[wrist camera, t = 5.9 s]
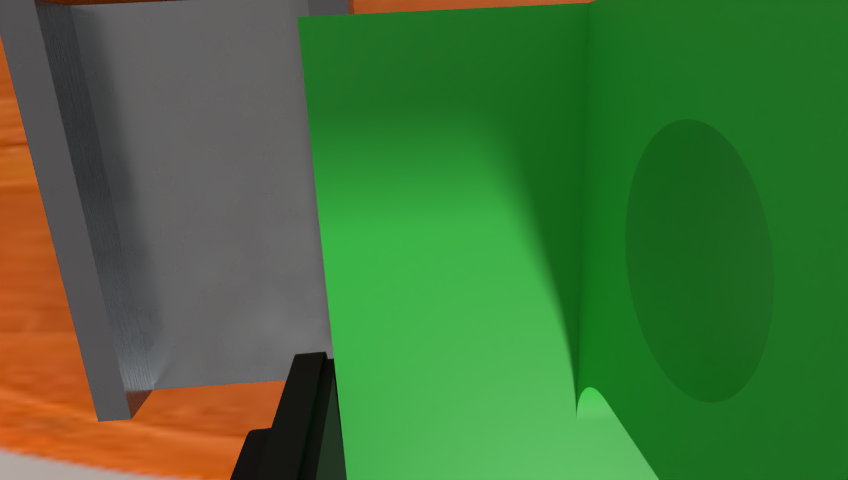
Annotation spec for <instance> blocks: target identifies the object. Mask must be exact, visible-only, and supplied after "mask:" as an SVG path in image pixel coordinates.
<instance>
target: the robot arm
mask: <svg viewBox="0 0 848 480" xmlns="http://www.w3.org/2000/svg"><path fill="white" fill-rule="evenodd" d="M230 480H347V475H346V466H345V456H344V447H343V438H342V428H341V419H340V410H339V401H338V391H337V382H336V373H335V364H334V358H333V359H328V357H327V353H326V351H324V352H314V353H303V354H295V356H294V359H293V362H292V365H291V368H290V371H289V374H288V377H287V380H286V384H285V387H284V390H283V393H282V396H281V399H280V402H279V405H278V409H277V412H276V415H275V418H274V421H273V424H272V427H271V428H266V429H256V430H251V431H250V432H249V433H248V435H247V437H246V439H245V442H244V445H243V447H242V450H241V452H240V455H239V458H238V460H237V463H236V466H235V468H234V471H233V473H232V476H231V479H230Z"/></svg>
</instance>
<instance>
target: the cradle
mask: <svg viewBox="0 0 848 480" xmlns="http://www.w3.org/2000/svg"><path fill="white" fill-rule="evenodd" d="M350 14H354V10H353V0H183V1H161V2H139V3H117V4H95V5H73V6H70V5H64V4H59V3H54V2H49V1H44V0H0V35H1V39H2V43H3V47H4V51H5V55H6V59H7V63H8V67H9V71H10V74H11V78H12V82H13V86H14V90H15V94H16V98H17V102H18V106H19V110H20V114H21V118H22V122H23V126H24V130H25V134H26V138H27V142H28V146H29V150H30V154H31V157H32V161H33V165H34V169H35V173H36V177H37V181H38V185H39V189H40V193H41V197H42V201H43V205H44V209H45V213H46V217H47V221H48V225H49V229H50V233H51V237H52V240H53V244H54V248H55V252H56V256H57V260H58V264H59V268H60V272H61V276H62V280H63V284H64V288H65V292H66V296H67V300H68V304H69V308H70V312H71V316H72V320H73V324H74V327H75V331H76V335H77V339H78V343H79V347H80V351H81V355H82V359H83V363H84V367H85V371H86V375H87V379H88V383H89V387H90V391H91V395H92V399H93V403H94V407H95V410H96V414H97V418H98V422H100V421H113V420H127V419H132V418H133V416H134V415H135V414H136V412H137V411H138V410H139V408H140V407H141V405H142V404H143V403H144V401H145V400H146V399H147V397H148V396H149V395H150V393H151V392H152V391H153V390H157V389H171V388H184V387H198V386H212V385H226V384H240V383H254V382H268V381H282V380H287V377H288V374H289V371H290V368H291V365H292V362H293V359H294V356H295V354H303V353H314V352H324V351H326V353H327V357H328V359H333V358H334V354H333V345H332V336H331V326H330V317H329V308H328V299H327V289H326V280H325V271H324V262H323V252H322V243H321V234H320V225H319V215H318V206H317V197H316V187H315V178H314V169H313V160H312V150H311V141H310V132H309V123H308V113H307V104H306V95H305V85H304V76H303V67H302V58H301V48H300V39H299V30H298V21H297V17H309V16H329V15H350Z"/></svg>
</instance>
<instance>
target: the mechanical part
mask: <svg viewBox="0 0 848 480" xmlns="http://www.w3.org/2000/svg"><path fill="white" fill-rule="evenodd" d="M297 21H298V30H299V39H300V48H301V58H302V67H303V76H304V85H305V95H306V104H307V113H308V123H309V132H310V141H311V150H312V160H313V169H314V178H315V187H316V197H317V206H318V215H319V225H320V234H321V243H322V252H323V262H324V271H325V280H326V289H327V299H328V308H329V317H330V326H331V336H332V345H333V354H334V364H335V373H336V382H337V391H338V401H339V410H340V419H341V428H342V438H343V447H344V456H345V466H346V475H347V480H848V0H596V1H593V2H590V3H577V4H556V5H536V6H515V7H494V8H474V9H453V10H432V11H412V12H391V13H371V14H350V15H329V16H309V17H297Z"/></svg>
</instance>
